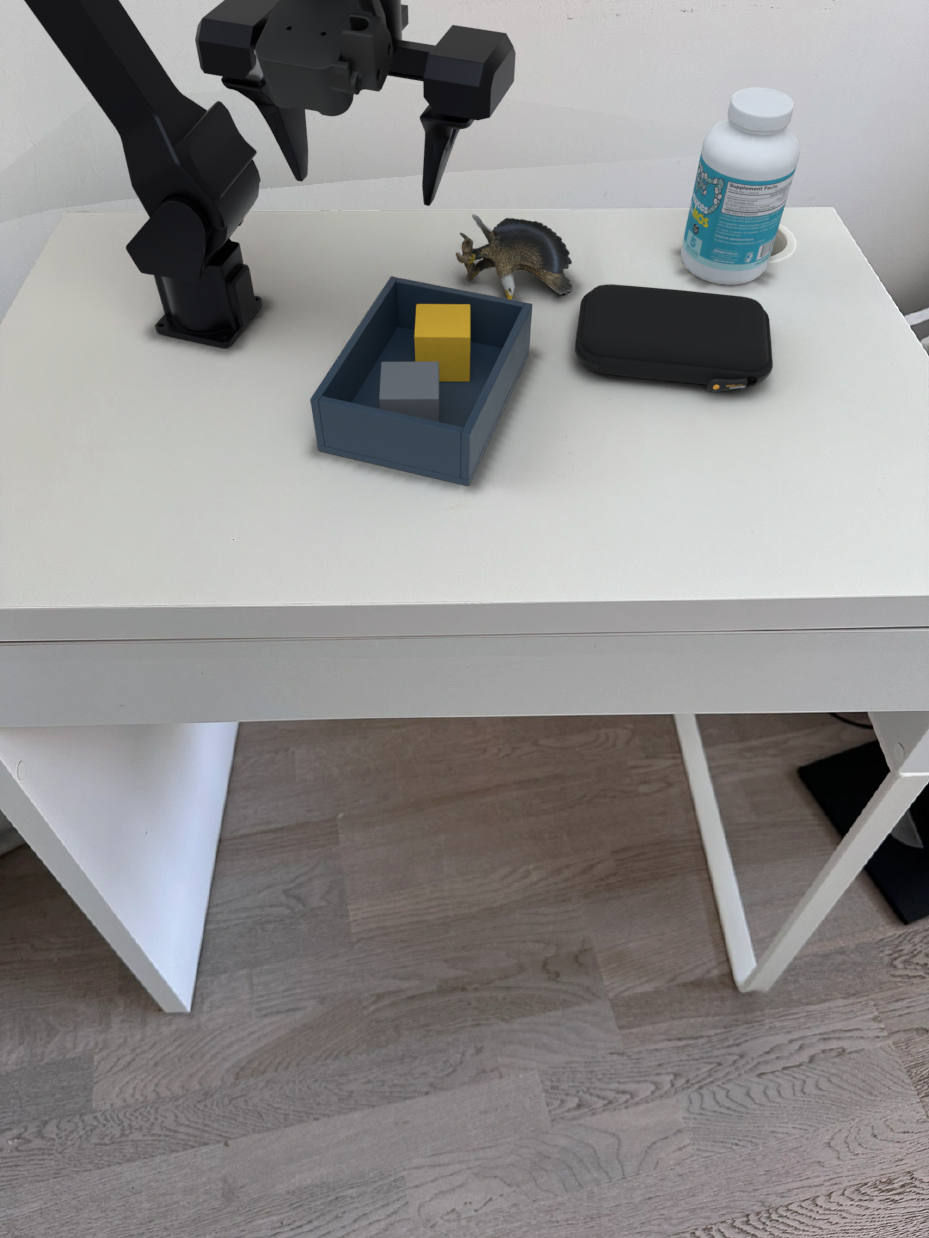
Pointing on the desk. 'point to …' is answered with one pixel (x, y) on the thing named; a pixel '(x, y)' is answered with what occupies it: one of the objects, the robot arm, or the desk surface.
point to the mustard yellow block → (444, 339)
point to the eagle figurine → (518, 253)
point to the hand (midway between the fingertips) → (364, 190)
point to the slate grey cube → (411, 389)
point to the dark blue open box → (465, 407)
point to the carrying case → (674, 336)
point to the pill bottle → (741, 188)
